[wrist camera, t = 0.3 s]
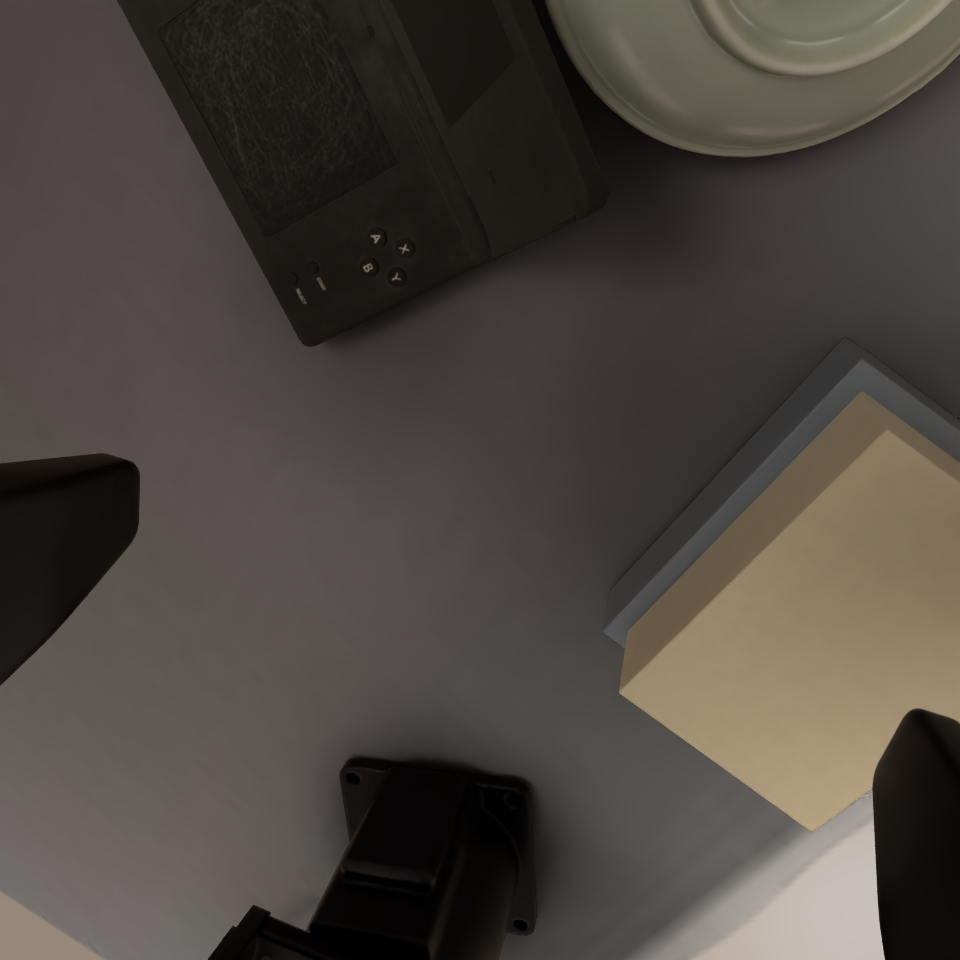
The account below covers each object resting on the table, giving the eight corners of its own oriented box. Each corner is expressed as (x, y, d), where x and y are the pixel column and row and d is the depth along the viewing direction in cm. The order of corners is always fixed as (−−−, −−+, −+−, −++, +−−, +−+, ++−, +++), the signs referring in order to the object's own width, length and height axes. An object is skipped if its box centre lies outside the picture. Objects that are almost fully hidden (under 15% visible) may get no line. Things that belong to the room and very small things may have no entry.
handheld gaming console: (1, -10, 19) (-163, -405, 9) (244, -164, 20) (310, -637, 11) (325, 379, 22) (438, 372, 13) (511, 224, 24) (732, 117, 14)
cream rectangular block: (799, 755, 21) (812, 833, 18) (626, 630, 20) (617, 693, 18) (1068, 542, 17) (1126, 605, 15) (861, 389, 17) (887, 428, 15)
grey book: (790, 722, 23) (799, 776, 21) (609, 590, 23) (600, 632, 21) (1063, 497, 19) (1105, 539, 17) (844, 335, 19) (862, 357, 17)
